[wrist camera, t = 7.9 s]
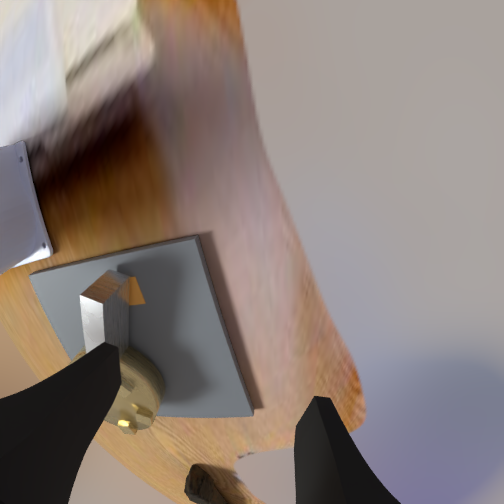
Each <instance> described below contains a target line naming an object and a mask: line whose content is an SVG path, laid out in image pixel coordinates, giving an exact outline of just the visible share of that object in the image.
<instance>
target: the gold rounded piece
mask: <svg viewBox="0 0 504 504" xmlns="http://www.w3.org/2000/svg"><path fill="white" fill-rule="evenodd" d="M129 287H130V276H129V275H126V274H123V273H120V272H117V271H114V270H111V269H109V270H107V271H106V272H105V273H104V274H103V275H102V276H101V277H99V278H98V279H97V280H96V281H95V282H94V283H93V284H91V285H90V286H89V287H88V288H87V289H86V290H85V291H84V292H82V293H81V294H80V304H81V315H82V325H83V333H84V341H85V345H84V346H83V347H82V349H81V350H80V351H79V352H78V354H77V355H76V356H75V357H74V359H73V360H72V361H71V362H70V364H71V363H73V362H75V361H76V360H78V359H79V358H81V357H82V356H84V355H85V354H87V353H88V352H89V351H91V350H92V349H94V348H95V347H97V346H98V345H100V344H101V343H103V342H106V343H109V344H111V345H114V346H117V347H119V359H120V370H121V380H122V384H121V386H120V389H119V391H118V393H117V396H116V398H115V400H114V403H113V405H112V407H111V408H110V410H109V412H108V413H107V415H106V417H105V419H104V420H105V421H107V422H109V423H111V424H113V425H116V426H118V427H119V428H120V429H121V430H122V431H123V432H124V434H133V435H135V434H136V432H137V430H142V429H146V428H148V427H150V426H151V425H152V424H153V422H154V420H155V417H156V415H157V412H158V410H159V407H160V405H161V402H162V400H163V397H164V395H165V391H166V390H165V383H164V380H163V378H162V376H161V374H160V372H159V371H158V369H157V368H156V367H155V366H154V364H153V363H152V362H151V361H150V360H149V359H148V358H146V357H145V356H144V355H143V354H141V353H140V352H139V351H137V350H136V349H134V348H133V347H131V346H129ZM70 364H69V365H70Z"/></svg>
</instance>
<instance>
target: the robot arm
mask: <svg viewBox="0 0 504 504" xmlns="http://www.w3.org/2000/svg"><path fill="white" fill-rule="evenodd" d="M45 244H46V245H45ZM51 255H53V248H52V245H51V242H50V239H49V236H48V233H47V230H46V227H45V224H44V221H43V218H42V214H41V211H40V207H39V204H38V200H37V196H36V192H35V188H34V184H33V180H32V176H31V171H30V166H29V161H28V156H27V151H26V145H25V142H24V141H19V142H18V143H16V144H15V145H11V146H5V147H0V275H1V274H3V273H4V272H6V271H7V270H9V269H10V268H14V267H17V266H20V265H24V264H27V263H30V262H34V261H37V260H41V259H44V258H48V257H50V256H51ZM121 384H122V380H121V370H120V359H119V347H117V346H114V345H111V344H109V343H106V342H103V343H101V344H100V345H98V346H97V347H95V348H94V349H92V350H91V351H89V352H88V353H87V354H85V355H84V356H82V357H81V358H79V359H78V360H76V361H75V362H73V363H71V364H70V365H68V366H67V367H65V368H64V369H62V370H60V371H59V372H57V373H55V374H54V375H52V376H50V377H48V378H47V379H45V380H43V381H41V382H39V383H38V384H35V385H33V386H31V387H30V388H27V389H25V390H23V391H20V392H18V393H16V394H13V395H10V396H7V397H4V398H1V399H0V504H68V502H69V498H70V494H71V491H72V487H73V484H74V481H75V479H76V475H77V472H78V470H79V467H80V465H81V462H82V460H83V457H84V455H85V453H86V450H87V448H88V446H89V445H90V443H91V441H92V439H93V438H94V436H95V434H96V432H97V431H98V429H99V427H100V426H101V424H102V422H103V420H104V419H105V417H106V415H107V413H108V412H109V410H110V408H111V407H112V405H113V403H114V400H115V398H116V396H117V393H118V391H119V389H120V386H121ZM294 461H295V482H296V484H295V485H296V504H401V503H400V502H399V501H398V500H397V499H395V497H394V496H393V495H391V493H390V492H389V491H388V490H387V489H386V488H385V487H384V486H383V484H382V483H381V482H380V481H379V479H378V478H377V477H376V475H375V474H374V473H373V471H372V470H371V469H370V467H369V466H368V464H367V463H366V461H365V460H364V458H363V457H362V455H361V453H360V452H359V450H358V449H357V447H356V445H355V444H354V442H353V440H352V438H351V436H350V435H349V433H348V431H347V429H346V427H345V425H344V424H343V422H342V420H341V418H340V416H339V414H338V412H337V410H336V408H335V406H334V404H333V402H332V400H331V399H330V398H328V397H319V396H314V398H313V399H312V401H311V403H310V404H309V406H308V408H307V409H306V411H305V412H304V414H303V416H302V417H301V419H300V421H299V422H298V424H297V425H296V431H295V443H294Z"/></svg>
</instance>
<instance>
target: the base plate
mask: <svg viewBox="0 0 504 504" xmlns="http://www.w3.org/2000/svg"><path fill="white" fill-rule="evenodd" d="M109 269H111V270H114V271H117V272H120V273H123V274H126V275H129V276H130V287H129V346H131V347H133V348H134V349H136V350H137V351H139V352H140V353H141V354H143V355H144V356H145V357H146V358H148V359H149V360H150V361H151V362H152V363H153V364H154V366H155V367H156V368H157V369H158V371H159V372H160V374H161V376H162V378H163V380H164V383H165V390H166V391H165V395H164V397H163V400H162V402H161V405H160V407H159V410H158V412H157V415H156V416H165V417H189V418H225V417H250V416H253V415H254V408H253V405H252V402H251V400H250V397H249V394H248V391H247V388H246V385H245V383H244V380H243V377H242V374H241V371H240V368H239V365H238V362H237V359H236V356H235V353H234V350H233V347H232V344H231V341H230V338H229V335H228V332H227V329H226V326H225V323H224V320H223V317H222V313H221V310H220V307H219V304H218V301H217V297H216V294H215V291H214V288H213V284H212V281H211V278H210V274H209V271H208V267H207V264H206V261H205V257H204V254H203V250H202V247H201V243H200V240H199V236H198V235H195V236H190V237H185V238H181V239H176V240H171V241H166V242H161V243H157V244H152V245H147V246H143V247H138V248H134V249H129V250H125V251H120V252H116V253H111V254H107V255H102V256H98V257H94V258H89V259H85V260H81V261H77V262H72V263H68V264H64V265H60V266H56V267H52V268H48V269H44V270H40V271H36V272H33V273H32V274H30V275H29V278H30V281H31V283H32V285H33V288H34V290H35V292H36V295H37V297H38V299H39V301H40V303H41V305H42V308H43V310H44V312H45V314H46V316H47V318H48V320H49V322H50V324H51V325H52V327H53V329H54V331H55V333H56V335H57V337H58V339H59V340H60V342H61V344H62V346H63V347H64V349H65V351H66V352H67V354H68V356H69V358H70V359H71V361H72V360H73V359H74V357H75V356H76V355H77V354H78V352H79V351H80V350H81V349H82V347H83V346H84V345H85V341H84V333H83V325H82V315H81V304H80V294H81V293H82V292H84V291H85V290H86V289H87V288H88V287H89V286H90V285H91V284H93V283H94V282H95V281H96V280H97V279H98V278H99V277H101V276H102V275H103V274H104V273H105V272H106V271H107V270H109Z"/></svg>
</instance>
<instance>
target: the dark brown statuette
mask: <svg viewBox="0 0 504 504" xmlns="http://www.w3.org/2000/svg"><path fill="white" fill-rule="evenodd" d="M213 481H214V480H213V479H212V478H211V477H210V476H209V475H208V474H207V473H206V472H205V471H203V470H202V469H201V468H199V467H197V466H196V465H192V467H191V469H190V471H189V474H188V476H187V478H186V483H185V490H184V492H185V493H186V495H187V496H188V498H189V500H190V501H193V502H195V503H197V504H228V503H227V502H226V501H225V500H224V497H222V496H221V494H220V493H219V492H218V491H217V489H216V488H215V486H214V482H213Z"/></svg>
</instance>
